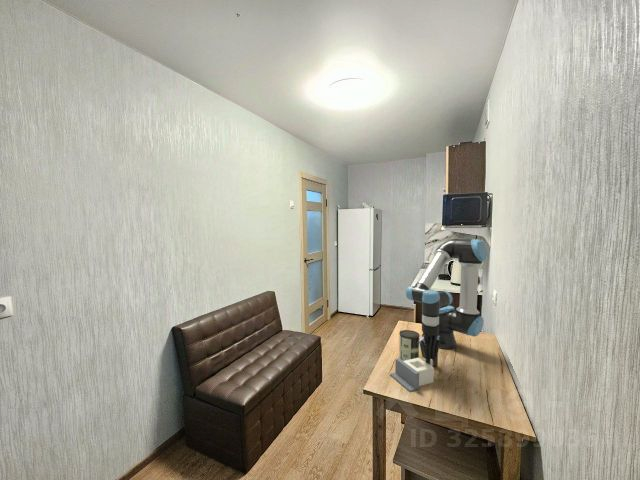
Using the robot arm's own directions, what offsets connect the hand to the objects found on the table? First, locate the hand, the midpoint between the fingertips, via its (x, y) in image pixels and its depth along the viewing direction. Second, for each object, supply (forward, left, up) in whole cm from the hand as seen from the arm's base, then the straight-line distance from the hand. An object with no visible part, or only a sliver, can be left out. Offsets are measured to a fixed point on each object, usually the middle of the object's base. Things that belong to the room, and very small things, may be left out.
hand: (429, 371), depth 129 cm
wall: (+15, 0, -2) cm, 15 cm away
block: (+7, 0, -2) cm, 8 cm away
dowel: (-9, -6, -2) cm, 11 cm away
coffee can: (-2, -17, -2) cm, 17 cm away
